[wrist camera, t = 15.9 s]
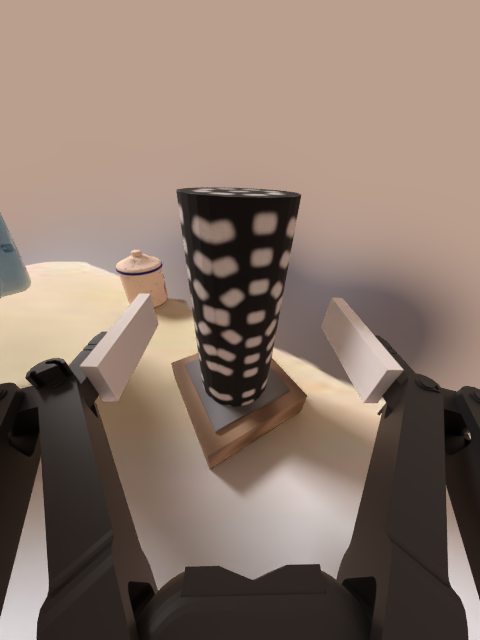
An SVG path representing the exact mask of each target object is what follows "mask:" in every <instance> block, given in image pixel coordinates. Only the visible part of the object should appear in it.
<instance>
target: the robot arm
mask: <svg viewBox="0 0 480 640" xmlns="http://www.w3.org/2000/svg"><path fill="white" fill-rule="evenodd" d="M30 284H31V280H30V277H29V274H28V272H27V269H26V267H25V265H24V263H23V261H22V258H21V256H20V254H19V252H18V249H17V247H16V245H15V243H14V241H13V239H12V236H11V234H10V232H9V230H8V228H7V226H6V224H5V222H4V220H3V218H2V215H1V213H0V298H1V297H4V296H8V295H12V294H15V293H19V292H23V291H25V290H26V289H28V288H29V286H30ZM157 326H158V320H157V317H156V313H155V309H154V306H153V302H152V298H151V294H140V293H139V295H138V296H137V297H136V298H135V299H134V301H133V302H132V303H131V304H130V306H129V307H128V308H127V309H126V310H125V312H124V313H123V314H122V315H121V316H120V318H119V319H118V320H117V321H116V323H115V324H114V325H113V326H112V327H111V329H110V330H109V331H108V332H101V333H100V334H98V335H97V336H95V337H94V338H93V339H92V340H91V341H90V342H89V343H88V345H87V346H86V347H85V348H84V349H83V351H81V352H80V354H79V355H78V356H77V357H76V358H75V359H74V360H73V362H72V363H71V364H70V365H69V366H68V365H67V363H66V362H65V361H64V359H61V358H52V359H49V360H45V361H43V362H41V363H39V364H37V365H36V366H34V367H33V368H31V369H30V370H29V372H28V373H27V374H26V377H25V378H26V379H27V380H28V381H29V382H30V383H31V384H32V385H33V386H30V387H26V388H22V389H20V388H19V387H18V386H17V385H16V384H14V383H4V384H0V616H1V612H2V608H3V604H4V600H5V596H6V592H7V588H8V584H9V580H10V576H11V572H12V568H13V564H14V560H15V556H16V552H17V548H18V544H19V540H20V536H21V532H22V528H23V524H24V521H25V517H26V513H27V509H28V505H29V501H30V497H31V493H32V489H33V485H34V481H35V477H36V473H37V469H38V465H39V461H40V457H41V461H42V477H43V494H44V510H45V526H46V542H47V558H48V574H49V591H48V596H47V598H46V600H45V602H44V603H43V605H42V607H41V609H40V613H39V617H38V621H37V640H468V627H467V619H466V613H465V609H464V607H463V604H462V601H461V599H460V598H459V596H458V595H457V594H456V593H455V591H454V590H453V589H452V588H451V585H450V582H449V577H448V553H447V516H446V486H447V490H448V493H449V496H450V500H451V503H452V507H453V510H454V514H455V517H456V520H457V524H458V527H459V531H460V534H461V537H462V541H463V544H464V548H465V551H466V554H467V558H468V561H469V565H470V568H471V571H472V575H473V578H474V582H475V585H476V588H477V592H478V595H479V599H480V389H477V388H475V387H469V386H464V387H462V388H461V389H460V390H459V391H458V392H456V391H452V390H448V389H444V388H441V387H440V386H439V385H438V384H437V383H436V382H435V381H433V380H432V379H430V378H428V377H426V376H423V375H421V374H416V373H415V372H414V371H413V370H412V369H411V368H410V367H409V366H408V365H407V364H406V362H405V361H404V360H403V359H402V358H401V357H400V356H399V355H398V354H397V352H396V351H395V350H394V349H392V347H391V346H390V345H389V343H388V342H387V341H385V340H384V339H382V338H381V337H380V336H374V335H373V334H372V332H370V330H369V329H368V328H367V327H366V326H365V324H364V323H363V322H362V321H361V320H360V319H359V317H358V316H357V315H356V314H355V313H354V311H353V310H352V309H351V308H350V307H349V306H348V304H347V303H346V302H345V301H344V300H343V299H342V298H332V299H331V301H330V304H329V307H328V310H327V313H326V315H325V318H324V321H323V324H322V329H323V331H324V333H325V335H326V337H327V338H328V340H329V342H330V344H331V346H332V347H333V349H334V351H335V353H336V355H337V356H338V358H339V360H340V362H341V363H342V365H343V367H344V369H345V371H346V372H347V374H348V376H349V378H350V380H351V382H352V383H353V385H354V387H355V389H356V391H357V392H358V394H359V396H360V398H361V400H362V401H363V403H378V402H379V400H380V399H381V398H382V397H383V398H384V399H385V401H386V402H387V403H386V404H385V405H384V406H383V407H382V409H381V410H380V411H379V412H378V415H380V414H381V413H382V415H381V420H380V424H379V428H378V432H377V436H376V440H375V444H374V449H373V453H372V457H371V461H370V465H369V469H368V473H367V478H366V482H365V486H364V490H363V494H362V498H361V502H360V506H359V511H358V515H357V519H356V523H355V527H354V531H353V535H352V539H351V543H350V545H349V548H348V549H347V551H346V553H345V554H344V556H343V559H342V561H341V564H340V568H339V571H338V575H337V579H334V578H333V577H332V576H330V575H328V574H327V573H325V572H323V571H321V569H320V564H308V565H286V566H283V567H281V568H278V569H276V570H274V571H271V572H269V573H267V574H265V575H263V576H261V577H259V578H257V579H255V580H251V579H248V578H246V577H244V576H241V575H239V574H236V573H234V572H232V571H229V570H227V569H224V568H222V567H220V566H200V567H185V572H183V573H181V574H179V575H177V576H176V577H174V578H173V579H171V580H170V581H169V582H167V583H166V584H165V585H164V586H163V587H162V588H161V589H160V590H159V591H158V589H157V586H156V583H155V580H154V577H153V574H152V571H151V568H150V565H149V563H148V560H147V558H146V556H145V554H144V553H143V551H142V549H141V546H140V543H139V540H138V537H137V534H136V531H135V527H134V524H133V521H132V518H131V514H130V511H129V508H128V505H127V502H126V498H125V495H124V492H123V489H122V485H121V482H120V479H119V476H118V472H117V469H116V466H115V463H114V459H113V456H112V453H111V450H110V446H109V443H108V440H107V437H106V433H105V430H104V427H103V424H102V420H101V417H100V414H99V411H98V408H97V405H96V403H95V400H96V399H97V397H98V395H99V396H100V398H101V399H102V401H106V402H118V401H119V399H120V397H121V395H122V393H123V391H124V389H125V387H126V385H127V383H128V382H129V380H130V378H131V376H132V374H133V372H134V370H135V368H136V366H137V364H138V363H139V361H140V359H141V357H142V355H143V353H144V351H145V349H146V347H147V345H148V343H149V342H150V340H151V338H152V336H153V334H154V332H155V330H156V328H157ZM469 432H470V435H471V439H470V438H469V435H468V433H469Z"/></svg>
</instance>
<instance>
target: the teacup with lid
mask: <svg viewBox="0 0 480 640" xmlns="http://www.w3.org/2000/svg"><path fill="white" fill-rule="evenodd" d="M116 270H117V272H118V273H119V275H120V278H121V281H122V284H123V287H124V290H125V292H126V295H127V298H128V301H129V304H131V303H132V302H133V301H134V299H135V298H136V297H137V296H138V295H139V293H140V294H151V298H152V302H153V306H154V307H157V306H159V305H161V304H163V303H164V302H165V301H166V300H167V298H168V295H167V290H166V285H165V281H164V276H163V271H162V262H161V261H160V260H159V259H158V258H156V257H152V256H147V255H145V254H142V252H141V251H140V250H133V251H132V252H131V256H129V257H127V258H126V259H124V260H122V261H120V262H118V264H117V265H116Z"/></svg>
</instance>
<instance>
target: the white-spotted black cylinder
mask: <svg viewBox="0 0 480 640" xmlns="http://www.w3.org/2000/svg"><path fill="white" fill-rule="evenodd" d="M177 198H178V205H179V213H180V220H181V227H182V235H183V242H184V250H185V257H186V265H187V272H188V280H189V287H190V295H191V302H192V310H193V317H194V324H195V332H196V339H197V347H198V354H199V362H200V369H201V377H202V383H203V387H204V390H205V392H206V393H207V394H208V396H209V397H210V398H212V399H213V400H214V401H216V402H218V403H219V404H222V405H226V406H232V407H236V406H244V405H247V404H250V403H252V402H254V401H255V400H256V399H258V398H259V397H260V396H261V395H262V393H263V392H264V390H265V388H266V384H267V380H268V374H269V369H270V363H271V358H272V352H273V347H274V341H275V335H276V330H277V325H278V319H279V314H280V308H281V303H282V297H283V292H284V286H285V281H286V275H287V270H288V264H289V259H290V253H291V248H292V242H293V236H294V231H295V226H296V220H297V214H298V209H299V204H300V199H301V194H299V193H294V192H287V191H278V190H265V189H247V188H184V189H178V190H177Z"/></svg>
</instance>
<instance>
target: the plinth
mask: <svg viewBox="0 0 480 640" xmlns="http://www.w3.org/2000/svg"><path fill="white" fill-rule="evenodd" d="M171 364H172V368H173V372H174V376H175V379H176V382H177V385H178V387H179V390H180V392H181V395H182V398H183V400H184V403H185V405H186V408H187V411H188V413H189V416H190V419H191V421H192V424H193V426H194V429H195V432H196V434H197V437H198V439H199V442H200V445H201V447H202V450H203V453H204V455H205V458H206V460H207V463H208V466H209V468H210V469H211V468H213V467H215V466H216V465H218V464H219V463H221V462H222V461H224V460H225V459H227V458H229V457H230V456H232V455H233V454H235V453H236V452H238V451H239V450H241V449H242V448H244V447H246V446H247V445H249V444H250V443H252V442H253V441H255V440H256V439H258V438H260V437H261V436H263V435H264V434H266V433H267V432H269V431H270V430H272V429H274V428H275V427H277V426H278V425H280V424H281V423H283V422H284V421H286V420H287V419H289V418H291V417H292V416H294V415H295V414H297V413H298V412H300V411H301V409H302V407H303V404H304V402H305V399H306V397H307V395H306V394H305V393H304V392H303V391H302V390H301V389H300V388H299V387H298V386H297V384H296V383H295V382H294V381H293V380H292V379H291V378H290V377H289V376H288V375H287V374H286V373H285V372H284V371H283V369H282V368H281V367H280V366H279V365H278V364H277V363H276V362H275V361H274V360H273V359H272V358H271V363H270V369H269V374H268V380H267V384H266V388H265V390H264V392H263V393H262V395H261V396H260V397H259V398H258V399H256V400H255V401H254V402H252V403H250V404H247V405H244V406H236V407H232V406H226V405H222V404H219V403H218V402H216V401H214V400H213V399H212V398H210V397H209V396H208V394H207V393H206V392H205V390H204V387H203V383H202V377H201V369H200V362H199V354H198V353H197V354H195V355H192V356H189V357H187V358H184V359H181V360H178V361H176V362H173V363H171Z"/></svg>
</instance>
